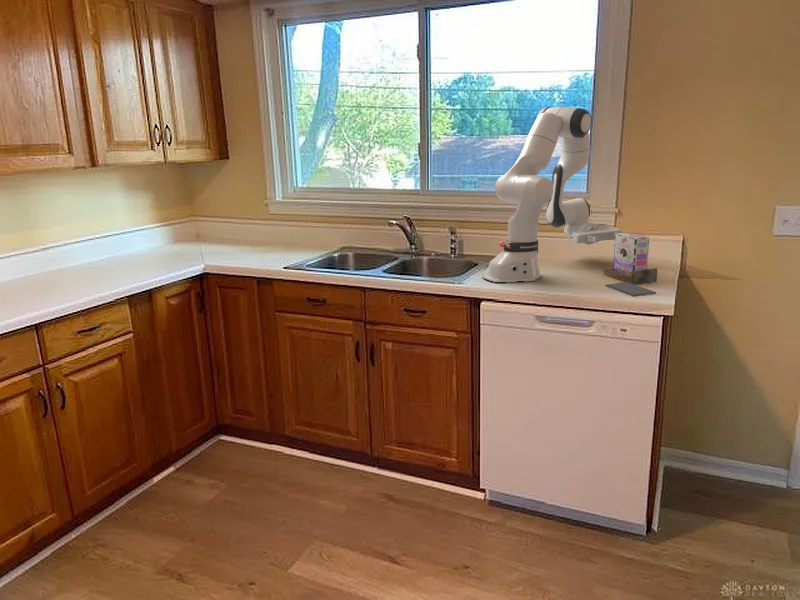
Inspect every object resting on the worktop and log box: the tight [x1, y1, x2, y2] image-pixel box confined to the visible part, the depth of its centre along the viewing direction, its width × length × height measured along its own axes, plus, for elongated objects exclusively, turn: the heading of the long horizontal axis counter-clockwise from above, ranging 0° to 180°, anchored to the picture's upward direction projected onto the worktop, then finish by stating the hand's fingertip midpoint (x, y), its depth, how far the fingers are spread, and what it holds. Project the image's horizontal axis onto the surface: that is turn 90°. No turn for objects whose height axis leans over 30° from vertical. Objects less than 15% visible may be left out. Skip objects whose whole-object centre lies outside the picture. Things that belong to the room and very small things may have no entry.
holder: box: [603, 267, 658, 285], centre depth 232 cm, size 10×18×5 cm, turn 16°
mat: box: [605, 282, 657, 297], centre depth 216 cm, size 9×16×1 cm, turn 16°
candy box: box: [613, 232, 650, 276], centre depth 230 cm, size 14×6×16 cm, turn 12°
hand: (607, 238), depth 244 cm, fingers open, 8 cm apart
